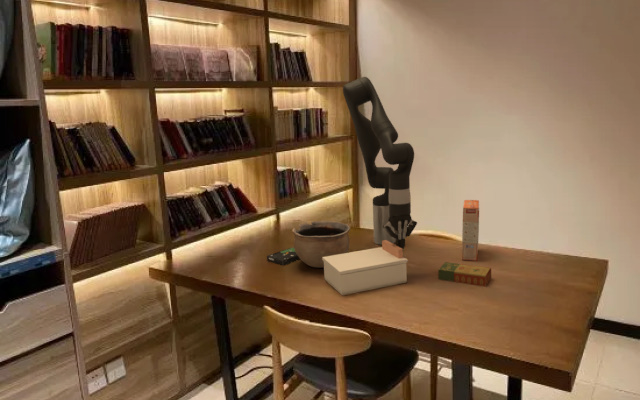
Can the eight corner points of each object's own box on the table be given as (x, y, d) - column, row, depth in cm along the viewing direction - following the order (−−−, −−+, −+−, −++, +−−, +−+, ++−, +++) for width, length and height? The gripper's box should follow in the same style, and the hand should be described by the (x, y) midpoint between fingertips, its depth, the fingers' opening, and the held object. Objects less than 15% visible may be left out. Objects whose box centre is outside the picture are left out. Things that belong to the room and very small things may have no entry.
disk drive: (283, 267, 185) (310, 256, 195) (283, 260, 184) (310, 250, 194) (266, 262, 192) (293, 252, 202) (266, 255, 191) (293, 246, 202)
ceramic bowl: (317, 252, 199) (315, 217, 196) (361, 260, 186) (360, 223, 183) (283, 268, 181) (280, 231, 178) (330, 278, 169) (328, 238, 166)
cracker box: (478, 261, 178) (479, 207, 173) (461, 260, 180) (462, 207, 175) (478, 250, 191) (479, 199, 186) (463, 249, 192) (463, 199, 188)
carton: (485, 287, 154) (485, 275, 154) (437, 280, 163) (437, 268, 162) (491, 278, 161) (491, 267, 160) (445, 272, 170) (444, 260, 169)
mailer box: (384, 268, 176) (384, 250, 175) (406, 282, 161) (406, 263, 160) (324, 279, 168) (323, 260, 167) (341, 295, 154) (340, 275, 152)
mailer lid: (385, 249, 175) (384, 238, 174) (407, 262, 160) (407, 250, 159) (322, 259, 167) (321, 248, 166) (339, 274, 152) (339, 262, 151)
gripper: (410, 196, 170) (411, 243, 173) (377, 201, 165) (379, 248, 169) (422, 200, 163) (422, 248, 166) (387, 205, 158) (389, 254, 162)
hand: (400, 248), depth 167 cm, fingers closed
